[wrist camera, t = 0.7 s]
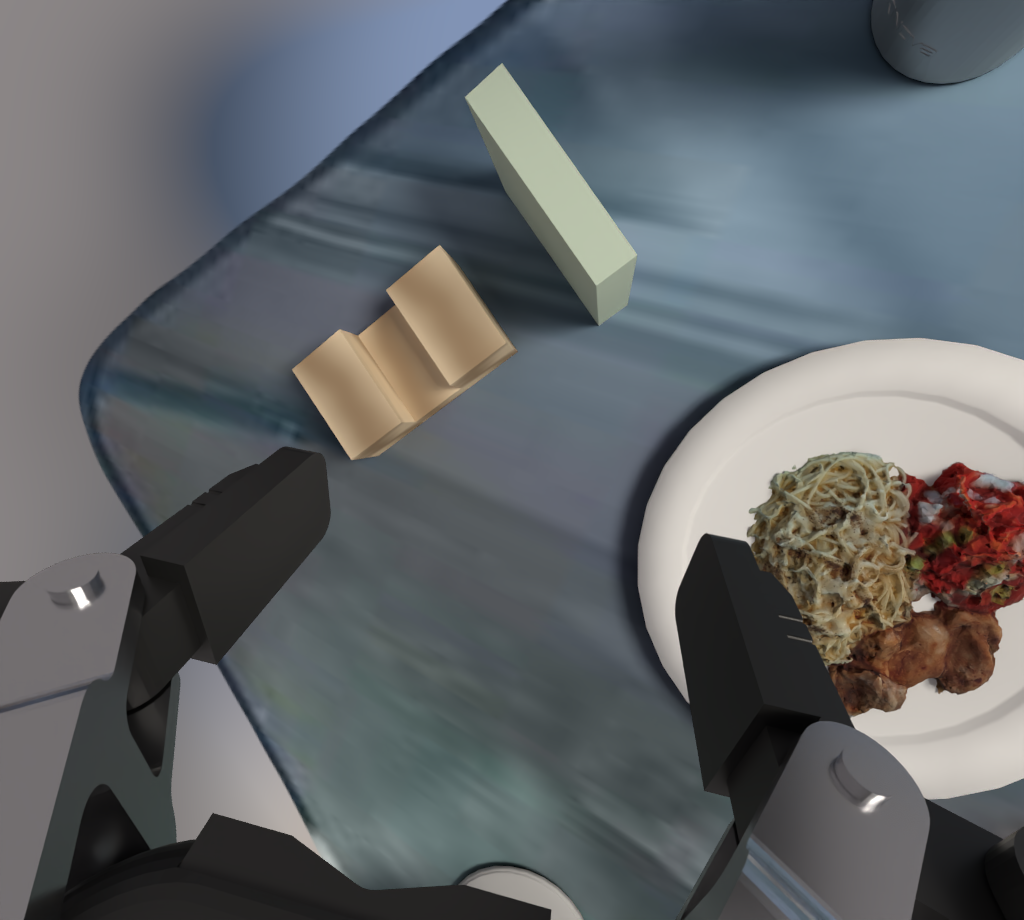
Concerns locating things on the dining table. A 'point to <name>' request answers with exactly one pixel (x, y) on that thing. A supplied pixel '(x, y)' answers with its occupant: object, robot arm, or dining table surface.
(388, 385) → the slotted maple beam
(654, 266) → the dining table surface
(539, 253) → the dining table surface
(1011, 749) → the plated food
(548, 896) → the chalice
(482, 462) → the dining table surface
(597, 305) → the sage plate
